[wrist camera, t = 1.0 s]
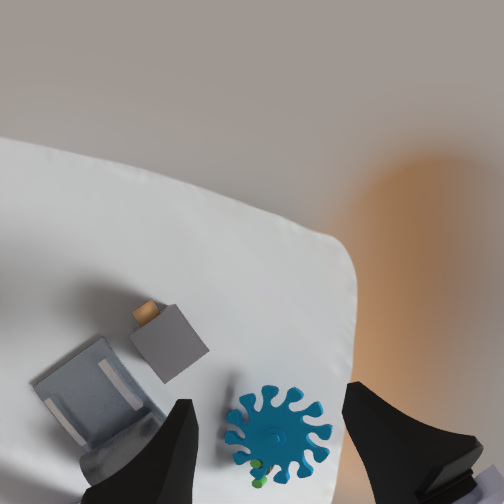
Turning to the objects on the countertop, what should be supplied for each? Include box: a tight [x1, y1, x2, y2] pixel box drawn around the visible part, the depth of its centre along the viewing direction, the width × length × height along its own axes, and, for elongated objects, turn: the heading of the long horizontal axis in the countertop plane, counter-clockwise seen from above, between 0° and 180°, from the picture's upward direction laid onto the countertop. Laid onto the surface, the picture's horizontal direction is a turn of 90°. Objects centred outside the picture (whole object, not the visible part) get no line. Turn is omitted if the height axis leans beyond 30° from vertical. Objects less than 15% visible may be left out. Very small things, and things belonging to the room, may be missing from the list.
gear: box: [225, 385, 332, 488], centre depth 23 cm, size 11×6×10 cm
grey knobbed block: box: [129, 299, 209, 384], centre depth 21 cm, size 4×5×6 cm
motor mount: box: [33, 337, 167, 486], centre depth 17 cm, size 9×12×7 cm
